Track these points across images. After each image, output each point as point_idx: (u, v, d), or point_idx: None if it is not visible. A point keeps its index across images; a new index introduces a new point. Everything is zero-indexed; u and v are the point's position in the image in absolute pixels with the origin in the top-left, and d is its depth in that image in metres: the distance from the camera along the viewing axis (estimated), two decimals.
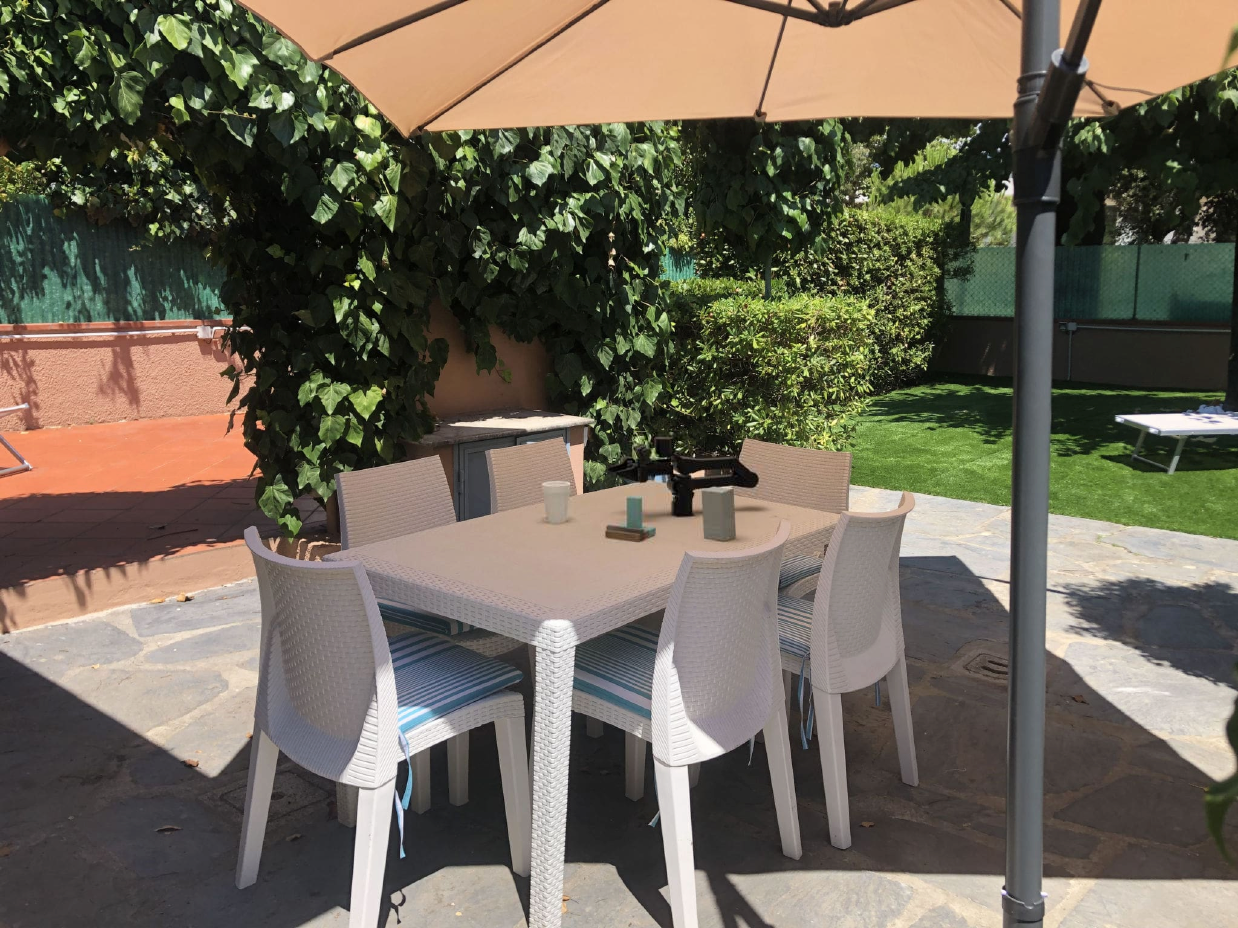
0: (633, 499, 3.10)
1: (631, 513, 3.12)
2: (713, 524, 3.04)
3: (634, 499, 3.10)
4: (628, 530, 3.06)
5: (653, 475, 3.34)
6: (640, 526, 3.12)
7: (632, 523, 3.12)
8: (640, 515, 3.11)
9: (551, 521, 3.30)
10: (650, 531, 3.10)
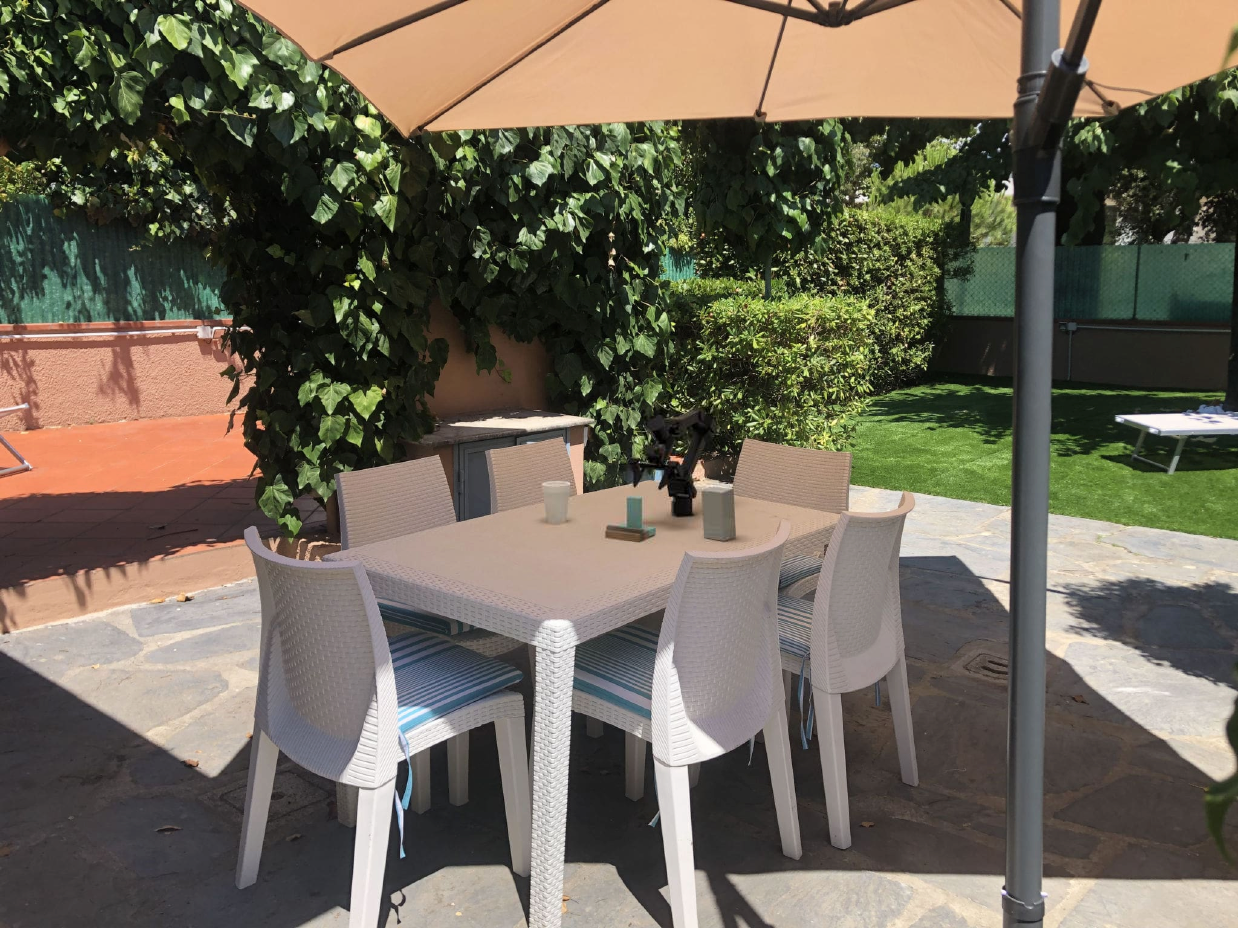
0: (633, 499, 3.10)
1: (631, 513, 3.12)
2: (713, 524, 3.04)
3: (634, 499, 3.10)
4: (628, 530, 3.06)
5: (669, 458, 3.25)
6: (640, 526, 3.12)
7: (632, 523, 3.12)
8: (640, 515, 3.11)
9: (551, 521, 3.30)
10: (650, 531, 3.10)
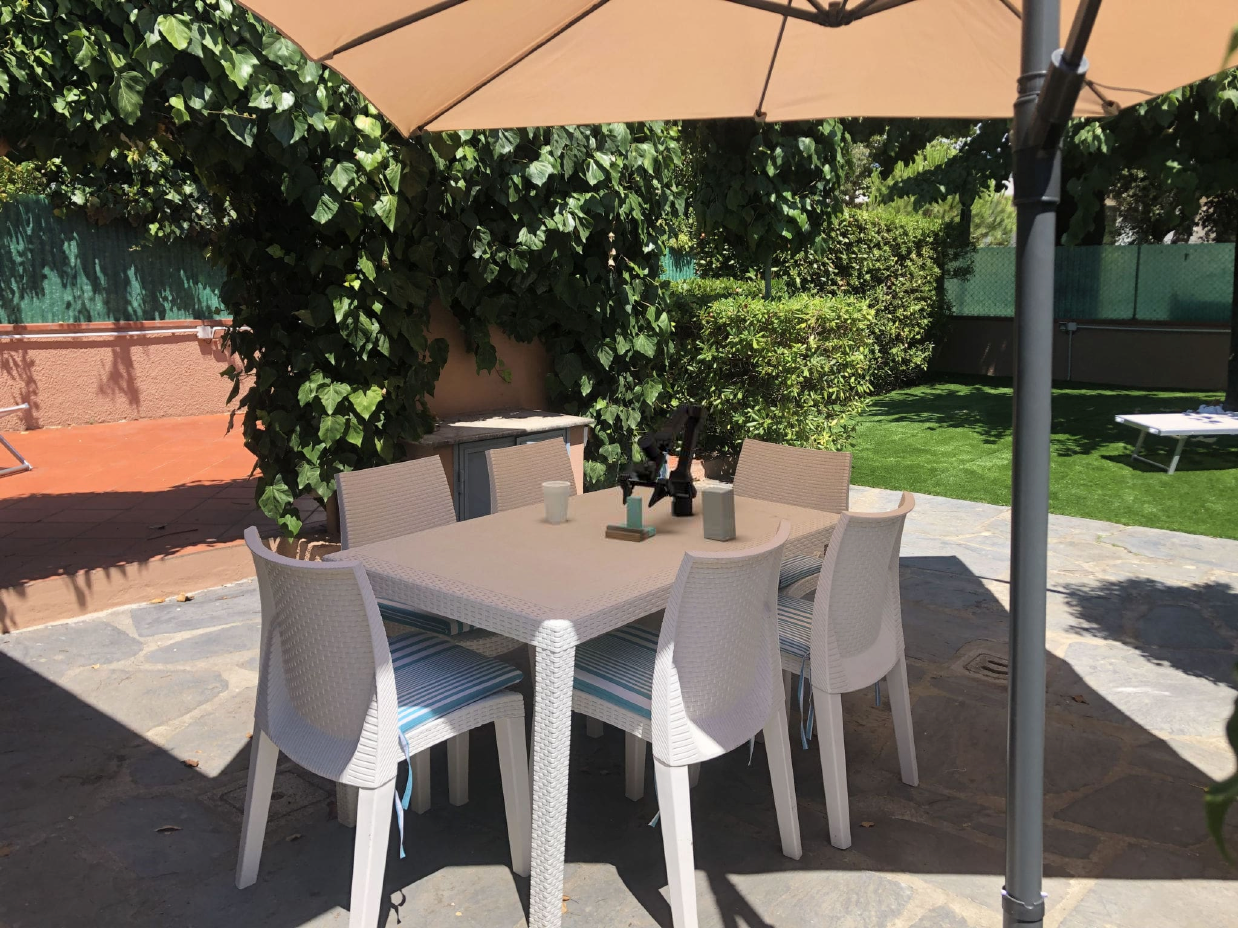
0: (633, 499, 3.10)
1: (631, 513, 3.12)
2: (713, 524, 3.04)
3: (634, 499, 3.10)
4: (628, 530, 3.06)
5: (659, 475, 3.20)
6: (640, 526, 3.12)
7: (632, 523, 3.12)
8: (640, 515, 3.11)
9: (551, 521, 3.30)
10: (650, 531, 3.10)
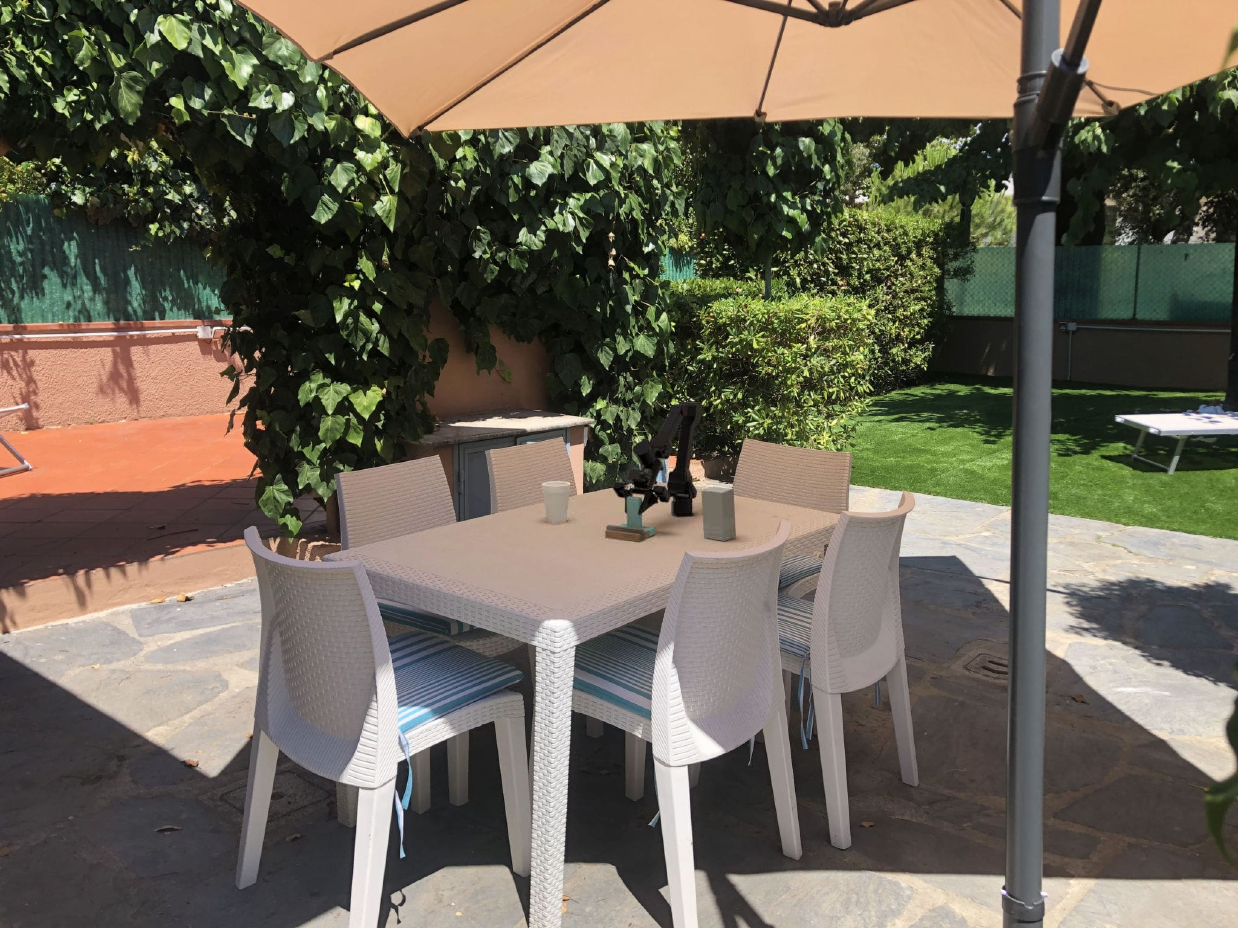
0: (633, 499, 3.10)
1: (631, 513, 3.12)
2: (713, 524, 3.04)
3: (634, 499, 3.10)
4: (628, 530, 3.06)
5: (656, 482, 3.18)
6: (640, 526, 3.12)
7: (632, 523, 3.12)
8: (640, 515, 3.11)
9: (551, 521, 3.30)
10: (650, 531, 3.10)
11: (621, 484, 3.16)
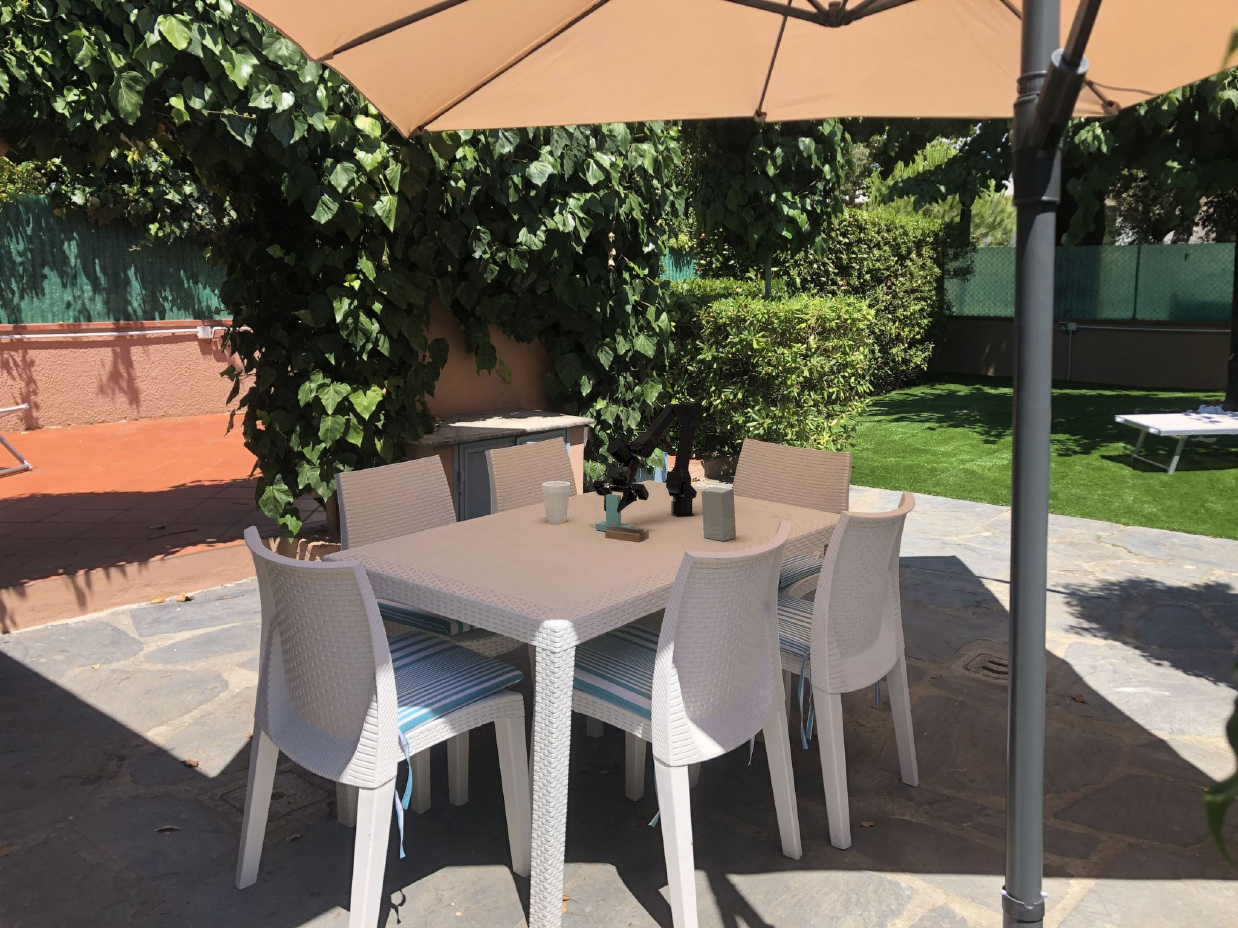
0: (612, 497, 3.14)
1: (610, 511, 3.15)
2: (713, 524, 3.04)
3: (613, 497, 3.14)
4: (628, 530, 3.06)
5: (635, 480, 3.22)
6: (619, 523, 3.16)
7: (611, 520, 3.16)
8: (619, 513, 3.15)
9: (551, 521, 3.30)
10: None
11: (600, 482, 3.20)
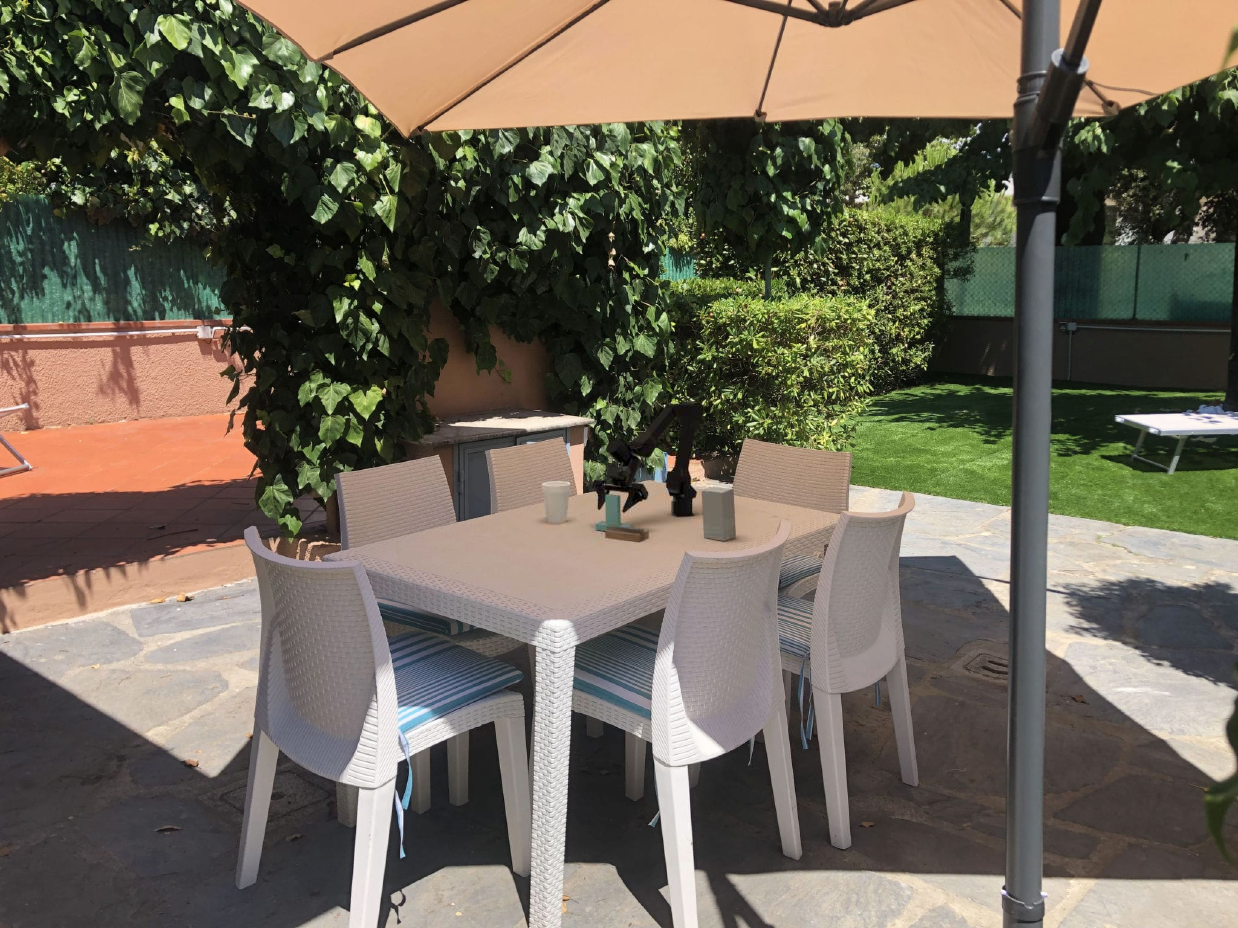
0: (611, 497, 3.14)
1: (610, 511, 3.16)
2: (713, 524, 3.04)
3: (613, 497, 3.14)
4: (628, 530, 3.06)
5: (634, 480, 3.22)
6: (618, 523, 3.16)
7: (611, 520, 3.16)
8: (618, 512, 3.15)
9: (551, 521, 3.30)
10: None
11: (600, 482, 3.20)
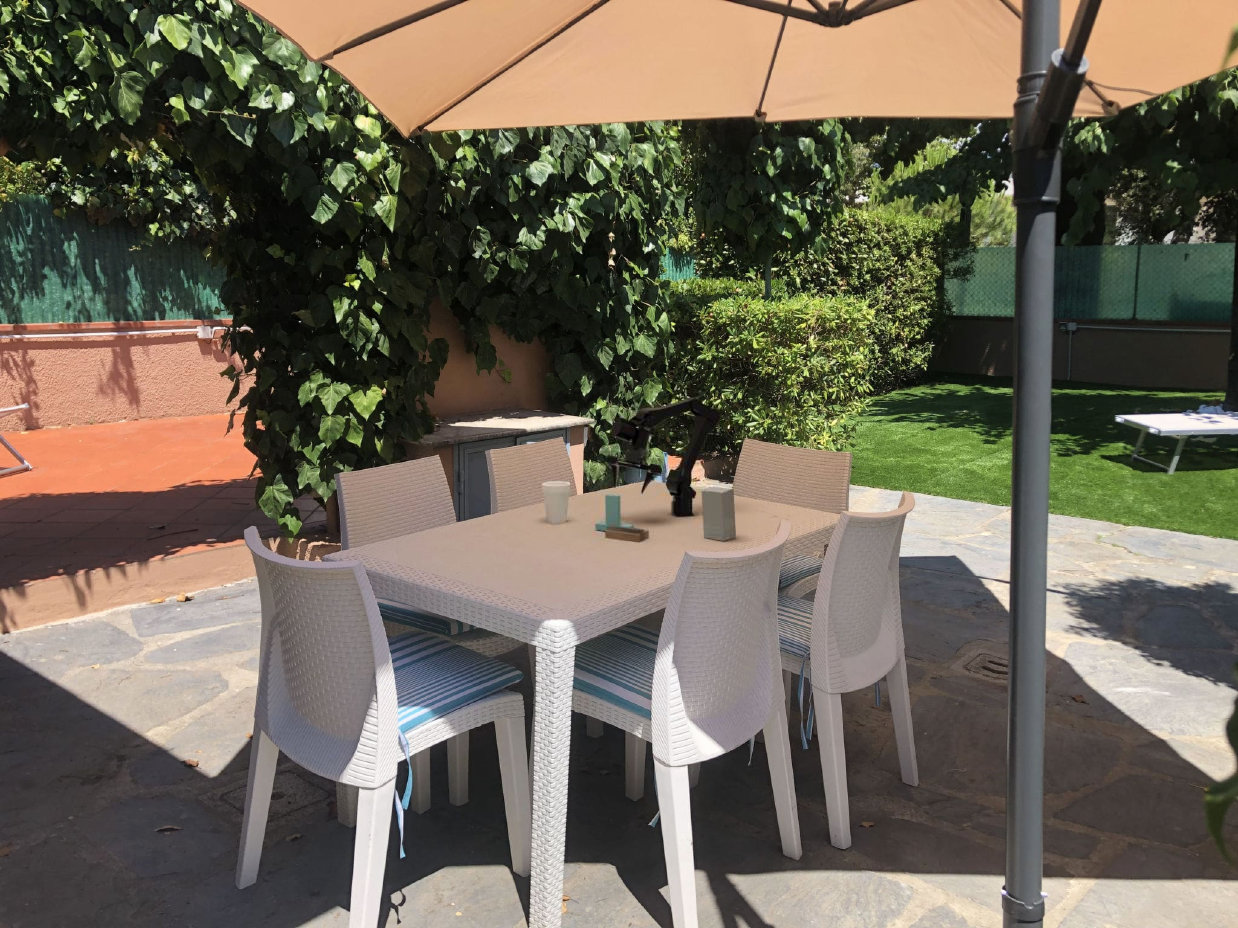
0: (611, 497, 3.14)
1: (610, 511, 3.16)
2: (713, 524, 3.04)
3: (613, 497, 3.14)
4: (628, 530, 3.06)
5: None
6: (618, 523, 3.16)
7: (611, 520, 3.16)
8: (618, 512, 3.15)
9: (551, 521, 3.30)
10: None
11: (614, 460, 3.25)
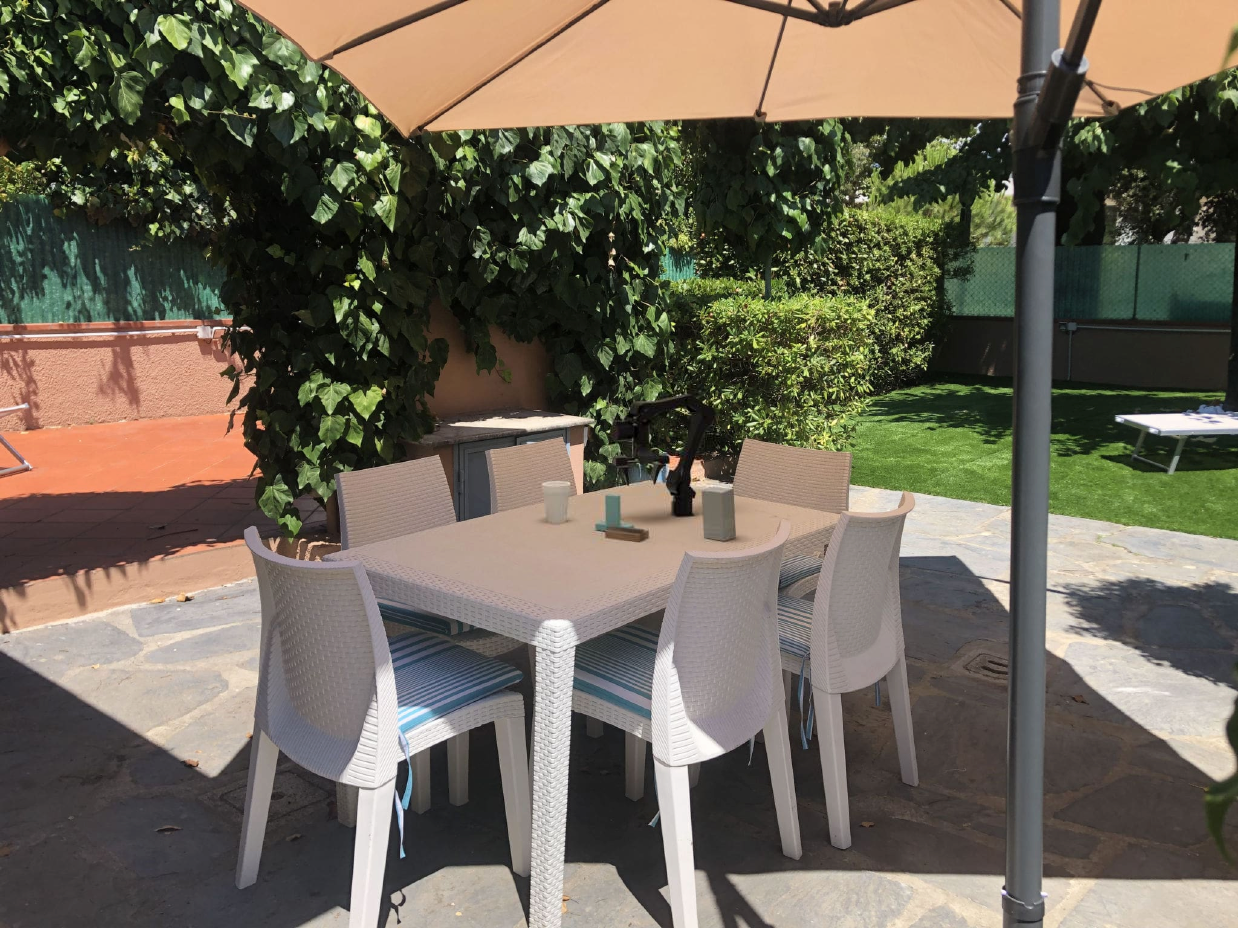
0: (611, 497, 3.14)
1: (610, 511, 3.16)
2: (713, 524, 3.04)
3: (613, 497, 3.14)
4: (628, 530, 3.06)
5: None
6: (618, 523, 3.16)
7: (611, 520, 3.16)
8: (618, 512, 3.15)
9: (551, 521, 3.30)
10: None
11: (625, 462, 3.26)
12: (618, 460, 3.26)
